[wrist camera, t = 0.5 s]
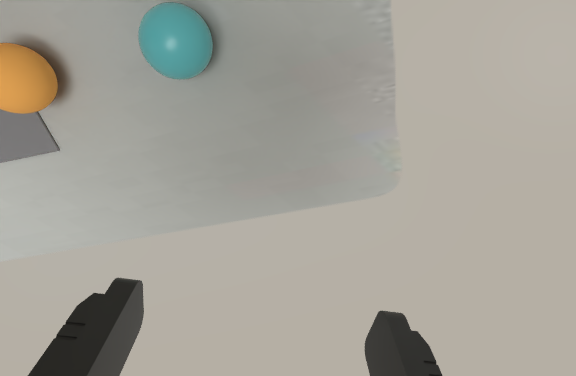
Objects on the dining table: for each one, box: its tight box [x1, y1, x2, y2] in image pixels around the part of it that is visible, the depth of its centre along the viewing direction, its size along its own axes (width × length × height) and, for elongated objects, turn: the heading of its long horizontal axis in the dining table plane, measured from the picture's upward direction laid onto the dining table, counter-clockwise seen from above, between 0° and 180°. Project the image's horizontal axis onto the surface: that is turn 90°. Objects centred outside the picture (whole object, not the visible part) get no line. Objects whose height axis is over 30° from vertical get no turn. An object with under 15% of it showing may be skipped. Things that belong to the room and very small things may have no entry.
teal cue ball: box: [139, 2, 213, 79], centre depth 25 cm, size 6×6×6 cm
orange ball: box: [0, 43, 58, 114], centre depth 26 cm, size 6×6×6 cm
